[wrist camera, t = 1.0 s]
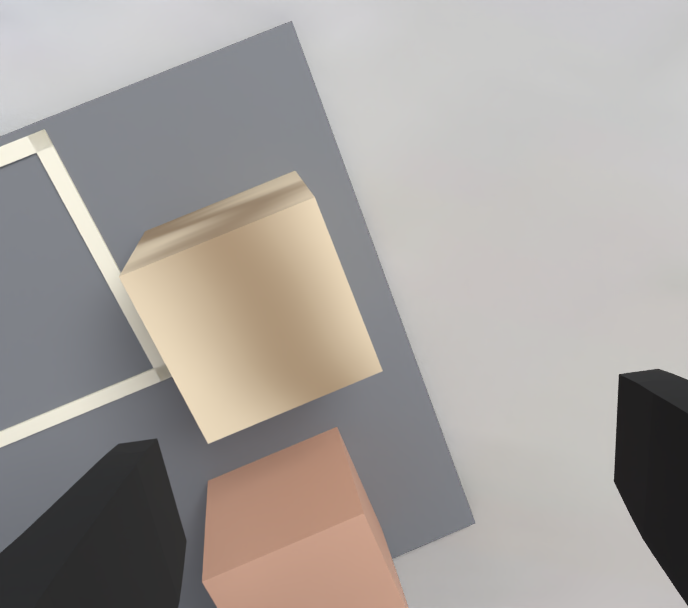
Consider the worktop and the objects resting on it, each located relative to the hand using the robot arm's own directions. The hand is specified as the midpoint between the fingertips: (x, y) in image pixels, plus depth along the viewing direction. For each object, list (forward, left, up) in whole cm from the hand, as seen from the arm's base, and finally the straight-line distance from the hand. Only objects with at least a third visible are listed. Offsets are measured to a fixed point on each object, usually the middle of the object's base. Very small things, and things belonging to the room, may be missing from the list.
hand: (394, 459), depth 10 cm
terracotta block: (-4, -9, -12) cm, 15 cm away
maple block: (-2, 0, -12) cm, 12 cm away
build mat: (-7, -3, -12) cm, 14 cm away
